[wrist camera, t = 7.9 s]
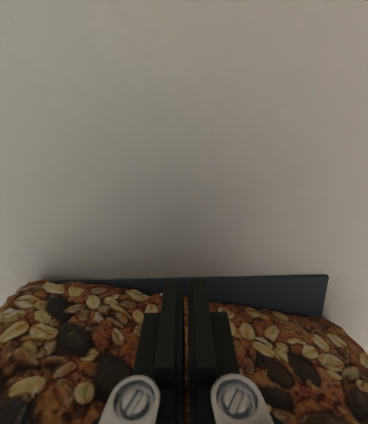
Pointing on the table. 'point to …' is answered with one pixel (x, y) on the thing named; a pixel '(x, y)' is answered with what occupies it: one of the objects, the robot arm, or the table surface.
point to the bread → (128, 342)
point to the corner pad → (246, 291)
